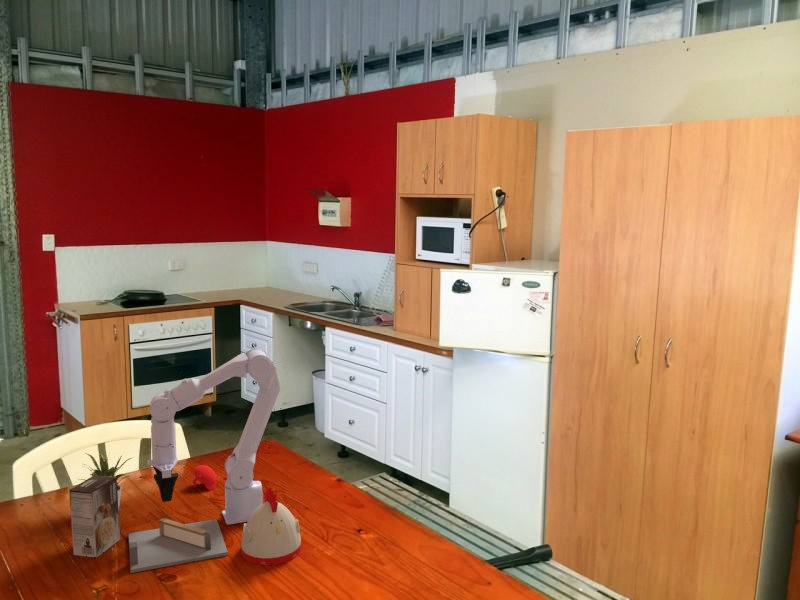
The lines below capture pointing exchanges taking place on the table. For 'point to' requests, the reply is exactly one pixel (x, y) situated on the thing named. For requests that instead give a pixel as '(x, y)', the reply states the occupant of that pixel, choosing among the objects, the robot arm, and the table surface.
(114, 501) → the coffee box
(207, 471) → the cap
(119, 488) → the house plant
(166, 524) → the tan wooden bar
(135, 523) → the table surface
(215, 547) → the frame
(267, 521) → the kitchen timer
